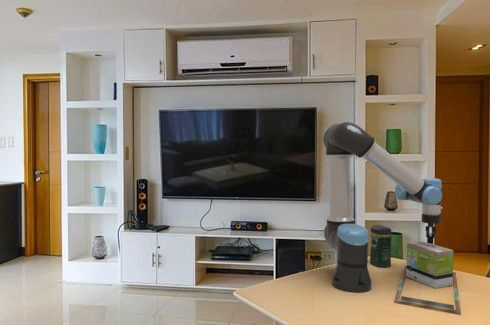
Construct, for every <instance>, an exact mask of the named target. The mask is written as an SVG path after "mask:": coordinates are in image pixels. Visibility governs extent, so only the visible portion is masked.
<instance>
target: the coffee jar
mask: <svg viewBox="0 0 490 325" xmlns="http://www.w3.org/2000/svg"><path fill="white" fill-rule="evenodd" d="M392 236H393V235H392V229H391V228H390V227H387V226H385V225H382V224H372V226H371V227H370V238H371V239H370V240H371V241H370V253H369V263H370V264H371V265H374V266H376V267H382V268H387V267H391V265H392V259H391V257H392V255H391V248H392V247H391V241H392Z"/></svg>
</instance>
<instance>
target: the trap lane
mask: <svg viewBox="0 0 490 325" xmlns="http://www.w3.org/2000/svg"><path fill="white" fill-rule="evenodd" d="M406 267H407V264H406V265H404V267H403V270H402V274H401V277H400V279H399V283H398V286H397V288H396V293H395V296H394V299H393V303H395V304H400V305H405V306H410V307H411V306H412V307H415V308H416V307H417V308H421V309H427V310H432V311H438V312H444V313H448V314H455V315H461V316H462V310H461V304H460V293H459V288H458V282H457V281H458V280H457V275H456V271H455V272H454V271H453V282H452V286H453V293H454V295H453V296H454V302H455V304H449V303H444V302H438V301H432V300H428V299H427V300H426V299H420V298H415V297H409V296H404V295H403V296H402V295H401V293H402V290H403V287H404V283H405V279H406V277H407V276H406V269H407V268H406ZM400 296H401V297H400ZM454 305H455V306H454Z"/></svg>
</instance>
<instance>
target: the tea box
mask: <svg viewBox="0 0 490 325" xmlns="http://www.w3.org/2000/svg"><path fill="white" fill-rule="evenodd" d="M406 266H407V267H406V268H407V269H406V276H405V277H406V278H410V279H412V280H414V281H416V282H419V283H421V284H424V285H426V286H428V287H430V288H432V289H435V290H436V289H441V288H445V287H450V286H453V272H454V250H453V249H450V248H448V247H444V246H439V245H436V244H434V243H433V244H430V243H427V241H418V242H411V243H406Z"/></svg>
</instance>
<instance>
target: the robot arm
mask: <svg viewBox="0 0 490 325" xmlns="http://www.w3.org/2000/svg"><path fill="white" fill-rule="evenodd" d="M322 142H323V146H324V147H325V156H326V157H327V158H328V160H329V215H328V217H326V225H325V226H324V229H323V238H324V240H325V241H326V243H327V244H328V245H329V246H330V247H331V248H332V249H334V250H335V251H336V266H335V268H334V271H333V274H332V277H331V285H332V286H333V287H335V288H336V289H338V290H341V291H345V292H350V293H353V292H354V293H363V292H364V293H365V292H368V291H370V290H372V284H373V283H372V282H373V281H372V278H371V275H370V272H369V268H368V265H369V264H368V263H369V262H368V259H369V258H368V257H369V256H368V255H369V241H370V240H369V239H370V238H369V231H368V229H367V228H366V227H365V226H363V225H360V224H356V223H355V218H354V217H353V216H352V209H351V207H352V205H351V195H352V194H351V159H352V158H353V157H354V156H356V157H357V158H359V159H364V160H366V161H367V162H368V163H369V164H371V165H372V166H373V167H374V168H376V169H377V170H378V171H380V172H381V173H382V174H383V175H385V176H386V177H387V178H389V179H390V180H392V181H393V182H394V183H395V184H396V185H395V187H394V188H395V189H394V195H395V197H396V199H397V200H399V201H411V202H416V203H419V204H421V222H422V223H423V224H427V225H426V226H425V237H426V242H427V243H430V244H434V238H435V237H436V231H437V230H436V228H437V227H436V226H434V225H438V224H441V221H442V220H441V216H442V215H441V212H442V210H443V207H442V200H443V194H442V193H443V192H442V191H443V186H442V180H441V178H440V179H439V178H434V177H433V178H432V177H430V178H428V177H427V178H421V177H420V176H419V175H417V173H415V172H413V171H412V170H411V169H410V168H409V167H407V166H406V165H405V164H403V163H402V162H401V161H399V160H398V159H397V157H395V156H393V155H392V154H391V153H389V152H388V151H387V150H385V149H384V148H383V147H382V146H381V145H379V144H378V143H376V138H375V137H373V136H372V135H371V134H369V133H368V132H367V131H366V130H365V129H363V128H362V127H361V126H359V125H358V124H355V123H353V122H348V121H346V122H345V121H344V122H340V123H339V122H338V123H334V124H331V125H330V126H329V127H327V128H326V129H325V131H324V132H323V135H322ZM435 239H436V238H435Z"/></svg>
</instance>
